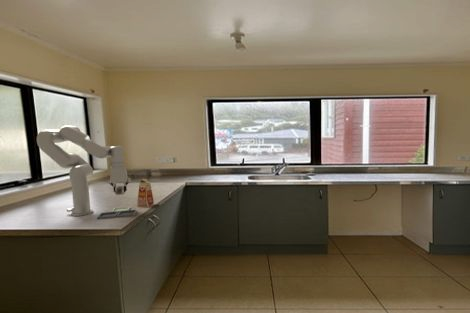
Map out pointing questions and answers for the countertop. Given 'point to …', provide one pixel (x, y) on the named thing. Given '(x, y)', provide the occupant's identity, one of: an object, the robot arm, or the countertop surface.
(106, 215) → the dish left
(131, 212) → the dish right
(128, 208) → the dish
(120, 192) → the letter cube
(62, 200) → the countertop surface
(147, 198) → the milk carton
